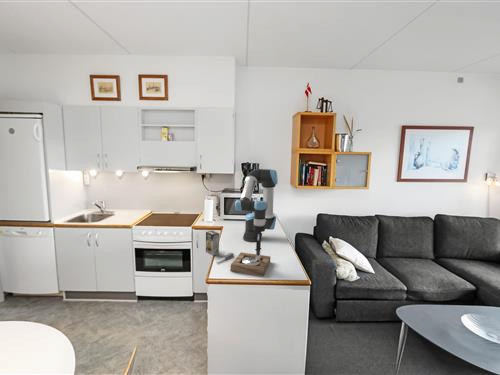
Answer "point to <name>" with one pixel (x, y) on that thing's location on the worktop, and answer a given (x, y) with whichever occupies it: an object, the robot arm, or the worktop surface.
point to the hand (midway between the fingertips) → (257, 259)
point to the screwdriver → (226, 257)
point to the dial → (251, 261)
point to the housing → (250, 269)
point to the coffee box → (212, 242)
